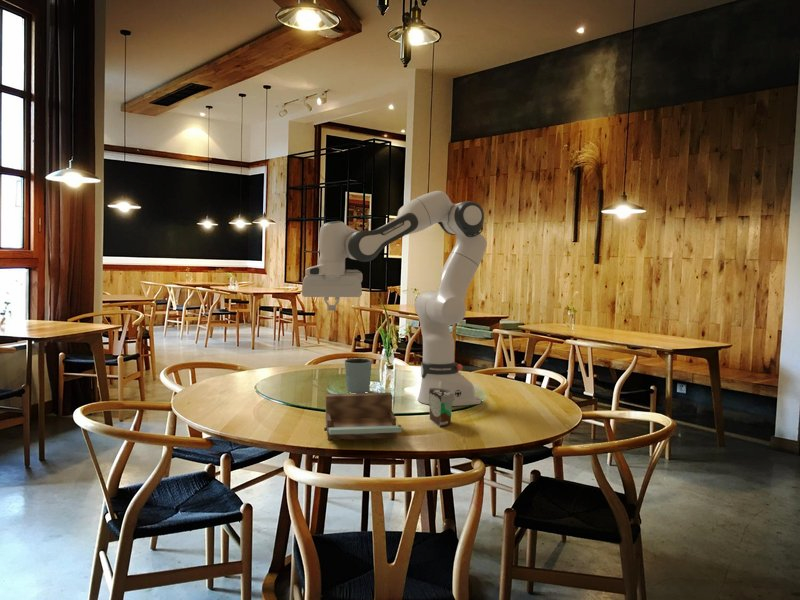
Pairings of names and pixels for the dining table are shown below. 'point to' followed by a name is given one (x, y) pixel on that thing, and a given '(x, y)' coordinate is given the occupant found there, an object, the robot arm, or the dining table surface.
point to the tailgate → (364, 430)
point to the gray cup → (358, 375)
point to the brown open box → (359, 413)
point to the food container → (441, 406)
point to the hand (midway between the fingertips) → (331, 310)
